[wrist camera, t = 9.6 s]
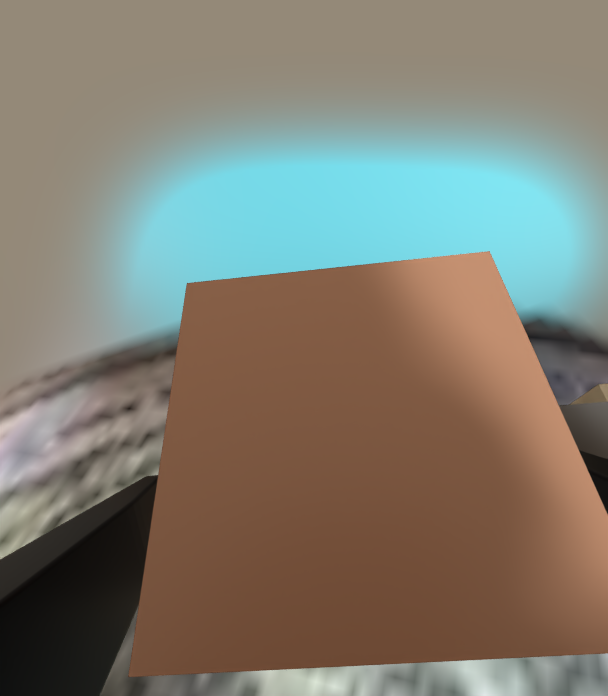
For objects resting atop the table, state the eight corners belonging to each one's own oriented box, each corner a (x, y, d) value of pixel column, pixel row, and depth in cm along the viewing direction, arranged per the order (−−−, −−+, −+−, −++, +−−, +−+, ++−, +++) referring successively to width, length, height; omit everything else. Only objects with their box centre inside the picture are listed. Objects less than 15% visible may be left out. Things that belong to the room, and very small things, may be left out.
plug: (409, 580, 14) (669, 650, 3) (295, 587, 14) (128, 677, 3) (389, 462, 16) (489, 250, 5) (291, 470, 17) (186, 283, 5)
